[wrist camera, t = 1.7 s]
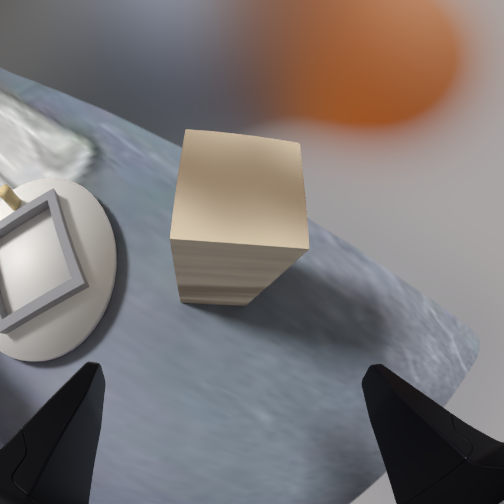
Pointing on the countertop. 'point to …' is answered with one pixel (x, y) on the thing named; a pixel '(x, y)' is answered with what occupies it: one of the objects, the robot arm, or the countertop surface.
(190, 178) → the birch block
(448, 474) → the robot arm
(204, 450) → the countertop surface
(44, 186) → the locating plate
